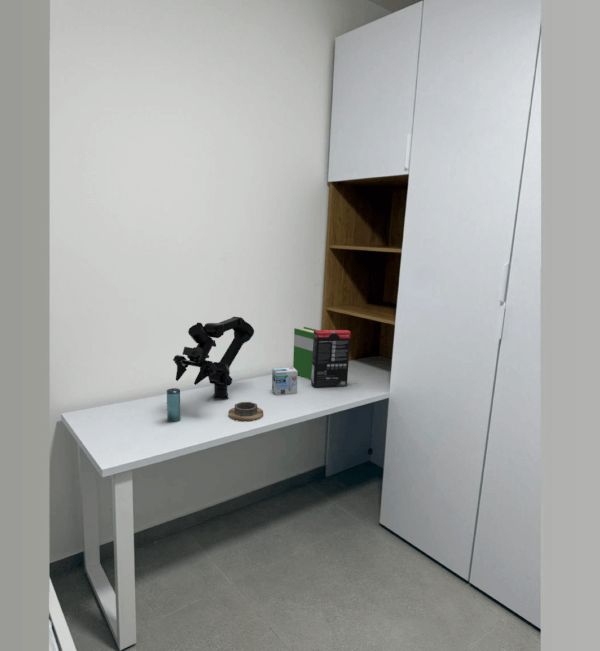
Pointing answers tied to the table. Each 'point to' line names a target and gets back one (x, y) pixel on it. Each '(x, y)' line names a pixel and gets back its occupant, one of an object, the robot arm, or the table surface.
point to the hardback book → (303, 351)
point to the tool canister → (173, 405)
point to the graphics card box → (330, 358)
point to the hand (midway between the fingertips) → (185, 382)
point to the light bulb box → (284, 380)
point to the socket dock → (245, 412)
